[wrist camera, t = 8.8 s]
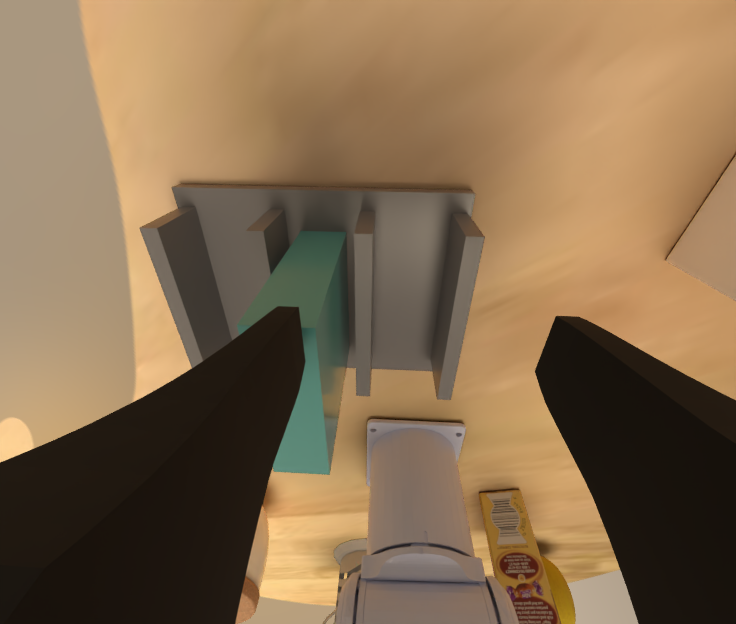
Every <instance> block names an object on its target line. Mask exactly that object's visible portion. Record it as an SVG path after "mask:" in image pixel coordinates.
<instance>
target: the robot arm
mask: <svg viewBox="0 0 736 624" xmlns="http://www.w3.org/2000/svg"><path fill="white" fill-rule="evenodd" d="M305 362H306V361H305V353H304V345H303V337H302V329H301V320H300V312H299V307H289V306H277V307H276V308H274V309H273V310H272V311H270V312H269V313H268V314H266V315H265V316H264V317H262V318H261V319H260V320H258V321H257V322H256V323H255V324H253V325H252V326H251V327H249V328H248V329H247V330H246V331H244V332H243V333H242V334H240V335H239V336H238V337H236V338H235V339H234V340H232V341H231V342H230V343H228V344H227V345H226V346H224V347H223V348H221V349H220V350H218V351H217V352H215V353H214V354H212V355H211V356H210V357H208V358H207V359H205V360H204V361H202V362H201V363H199V364H198V365H196V366H195V367H193V368H192V369H190V370H189V371H187V372H186V373H184V374H182V375H181V376H179V377H177V378H176V379H174V380H173V381H171V382H169V383H167V384H166V385H164V386H162V387H160V388H159V389H157V390H155V391H153V392H152V393H150V394H148V395H146V396H144V397H143V398H141V399H139V400H137V401H135V402H133V403H131V404H129V405H127V406H125V407H123V408H121V409H119V410H117V411H115V412H113V413H111V414H109V415H107V416H105V417H103V418H101V419H99V420H97V421H95V422H93V423H91V424H89V425H87V426H84V427H83V428H80V429H78V430H76V431H73V432H71V433H69V434H67V435H64V436H62V437H60V438H58V439H56V440H53V441H51V442H49V443H46V444H44V445H42V446H39V447H37V448H34V449H32V450H30V451H27V452H25V453H23V454H20V455H18V456H15V457H13V458H10V459H8V460H6V461H3V462H1V463H0V624H235V623H236V618H237V613H238V608H239V604H240V599H241V595H242V590H243V585H244V581H245V576H246V571H247V567H248V562H249V558H250V554H251V549H252V545H253V541H254V537H255V532H256V528H257V524H258V520H259V516H260V512H261V508H262V504H263V500H264V496H265V492H266V488H267V484H268V480H269V477H270V474H271V470H272V467H273V464H274V461H275V458H276V455H277V453H278V450H279V447H280V444H281V442H282V439H283V436H284V433H285V430H286V428H287V425H288V422H289V419H290V416H291V414H292V411H293V408H294V405H295V402H296V399H297V396H298V394H299V390H300V386H301V381H302V377H303V372H304V367H305ZM535 373H536V376H537V379H538V383H539V386H540V389H541V392H542V394H543V397H544V400H545V403H546V405H547V407H548V409H549V411H550V413H551V415H552V417H553V419H554V421H555V423H556V425H557V427H558V429H559V431H560V433H561V435H562V437H563V439H564V441H565V443H566V445H567V446H568V448H569V450H570V452H571V454H572V456H573V458H574V460H575V462H576V464H577V466H578V468H579V470H580V472H581V474H582V476H583V478H584V480H585V482H586V484H587V486H588V488H589V490H590V492H591V495H592V497H593V499H594V501H595V504H596V506H597V509H598V512H599V514H600V517H601V519H602V522H603V524H604V527H605V529H606V532H607V534H608V537H609V539H610V542H611V545H612V548H613V550H614V553H615V556H616V559H617V561H618V564H619V567H620V570H621V572H622V575H623V578H624V581H625V584H626V586H627V589H628V592H629V595H630V598H631V601H632V605H633V608H634V611H635V614H636V617H637V620H638V623H639V624H736V400H734V399H732V398H730V397H728V396H726V395H724V394H722V393H720V392H718V391H716V390H714V389H712V388H710V387H708V386H706V385H704V384H702V383H700V382H699V381H697V380H695V379H693V378H691V377H689V376H687V375H685V374H683V373H681V372H680V371H678V370H676V369H674V368H672V367H670V366H669V365H667V364H665V363H663V362H661V361H660V360H658V359H656V358H654V357H652V356H651V355H649V354H647V353H645V352H644V351H642V350H640V349H638V348H637V347H635V346H633V345H631V344H629V343H628V342H626V341H624V340H622V339H621V338H619V337H617V336H615V335H614V334H612V333H610V332H608V331H606V330H604V329H603V328H601V327H599V326H597V325H595V324H593V323H591V322H589V321H587V320H585V319H583V318H580V317H571V316H556V317H555V320H554V323H553V325H552V328H551V330H550V333H549V336H548V338H547V341H546V343H545V346H544V349H543V351H542V354H541V357H540V359H539V362H538V364H537V367H536V370H535ZM373 428H374V429H373ZM465 432H466V428H465V425H464V424H462V423H448V422H427V421H406V420H386V419H370V420H369V421H368V423H367V485H368V486H369V487H370V493H369V514H368V535H367V555H363V556H362V563H361V573H352V574H351V575H350V576H349V579H348V580H347V581H346V582H345V584H344V585H343V587H342V589H341V592H340V597H339V602H338V608H337V615H336V623H335V624H519V621H518V618H517V615H516V611H515V609H514V606H513V603H512V601H511V598H510V596H509V594H508V593H507V591H506V590H505V589H504V588H503V587H502V586H501V585H500V583H499V582H498V580H497V579H496V578H495V577H493V576H486V577H485V573H484V568H483V563H482V559H481V558H479V557H475V555H474V549H473V544H472V539H471V534H470V528H469V523H468V518H467V513H466V507H465V502H464V497H463V492H462V486H461V481H460V476H459V471H458V465H457V462H458V459H459V455H460V451H461V447H462V443H463V440H464V436H465Z"/></svg>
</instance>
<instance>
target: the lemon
mask: <svg viewBox="0 0 736 624" xmlns="http://www.w3.org/2000/svg"><path fill="white" fill-rule="evenodd" d="M541 559H542V562H543V565H544V569H545V572H546V575H547V578H548V582H549V585H550V588H551V592H552V595H553V598H554V601H555V604H556V608H557V611H558V614H559V618H560V621H561V624H575V608H574V603H573V599H572V595H571V592H570V589H569V587H568V585H567V583H566V581H565V579H564V577H563V575H562V574H561V572H560V571H559V569H558V568H557V567H556V566H555V565H554V564H553V563H552V562H551V561H549V560H548V559H546V558H544V557H542V556H541Z"/></svg>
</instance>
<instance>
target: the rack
mask: <svg viewBox="0 0 736 624" xmlns="http://www.w3.org/2000/svg"><path fill="white" fill-rule="evenodd" d="M172 190H173V193H174V196H175V200H176V203H177V206H178V209H176V210H174V211H172V212H170V213H168V214H166V215H164V216H162V217H160V218H158V219H156V220H154V221H152V222H150V223H148V224H146V225H144V226H142V227H140V231H141V233H142V236H143V239H144V241H145V244H146V247H147V249H148V252H149V255H150V257H151V260H152V263H153V265H154V268H155V271H156V273H157V276H158V279H159V281H160V284H161V287H162V289H163V292H164V295H165V297H166V300H167V303H168V305H169V308H170V311H171V313H172V316H173V319H174V321H175V324H176V327H177V329H178V332H179V335H180V337H181V340H182V342H183V345H184V348H185V350H186V353H187V356H188V358H189V361H190V364H191V366H192V368H193V367H195V366H196V365H198V364H199V363H201V362H202V361H204V360H205V359H207V358H208V357H210V356H211V355H212V354H214V353H215V352H217V351H218V350H220V349H221V348H223V347H224V346H226V345H227V344H228V343H230V342H231V341H232V340H234V339H235V338H236V337H238V336H239V332H238V328H237V324H238V323H239V321H240V320H241V318H242V317H243V315H244V314H245V312H246V311H247V309H248V308H249V306H250V305H251V303H252V302H253V300H254V299H255V298H256V296H257V295H258V293H259V292H260V290H261V289H262V287H263V286H264V284H265V283H266V281H267V280H268V278H269V277H270V276H271V274H272V273H273V271H274V270H275V268H276V267H277V265H278V264H279V262H280V261H281V259H282V258H283V256H284V255H285V253H286V252H287V251H288V249H289V248H290V246H291V245H292V243H293V242H294V240H295V239H296V237H297V236H298V234H299V233H300V231H324V232H346V236H347V271H348V306H349V341H350V348H349V355H348V361H347V367H346V368H356V396H370V385H371V369H392V370H416V371H433V377H434V383H435V389H436V396H437V399H442V400H451V396H452V391H453V386H454V382H455V377H456V372H457V367H458V363H459V358H460V353H461V348H462V343H463V339H464V334H465V329H466V324H467V320H468V315H469V310H470V305H471V300H472V296H473V291H474V286H475V281H476V277H477V272H478V267H479V262H480V257H481V253H482V248H483V243H484V238H485V237H484V235H483V234H482V232H481V231H480V230H479V228H478V227H477V225H476V224H475V223H474V221H473V220H472V219H471V216H472V210H473V205H474V199H475V193H474V192H473V191H472V190H446V189H399V188H351V187H303V186H255V185H207V184H179V185H176V186H173V187H172Z"/></svg>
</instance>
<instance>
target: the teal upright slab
mask: <svg viewBox="0 0 736 624" xmlns="http://www.w3.org/2000/svg"><path fill="white" fill-rule="evenodd" d="M277 306H289V307H299V312H300V320H301V329H302V337H303V345H304V353H305V361H306V362H305V367H304V372H303V377H302V381H301V386H300V390H299V394H298V396H297V399H296V402H295V405H294V408H293V411H292V414H291V416H290V419H289V422H288V425H287V428H286V430H285V433H284V436H283V439H282V442H281V444H280V447H279V450H278V453H277V455H276V458H275V461H274V464H273V469H274V472H291V473H309V474H327V475H330V469H331V463H332V456H333V450H334V444H335V437H336V431H337V424H338V418H339V412H340V405H341V399H342V393H343V386H344V380H345V374H346V367H347V361H348V355H349V348H350V341H349V306H348V271H347V236H346V232H324V231H300V233H299V234H298V236H297V237H296V239H295V240H294V242H293V243H292V245H291V246H290V248H289V249H288V251H287V252H286V253H285V255H284V256H283V258H282V259H281V261H280V262H279V264H278V265H277V267H276V268H275V270H274V271H273V273H272V274H271V276H270V277H269V278H268V280H267V281H266V283H265V284H264V286H263V287H262V289H261V290H260V292H259V293H258V295H257V296H256V298H255V299H254V300H253V302H252V303H251V305H250V306H249V308H248V309H247V311H246V312H245V314H244V315H243V317H242V318H241V320H240V321H239V323H238V324H237V328H238V332H239V335H240V334H242V333H243V332H244V331H246V330H247V329H248V328H249V327H251V326H252V325H253V324H255V323H256V322H257V321H258V320H260V319H261V318H262V317H264V316H265V315H266V314H268V313H269V312H270V311H272V310H273V309H274V308H276V307H277Z"/></svg>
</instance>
